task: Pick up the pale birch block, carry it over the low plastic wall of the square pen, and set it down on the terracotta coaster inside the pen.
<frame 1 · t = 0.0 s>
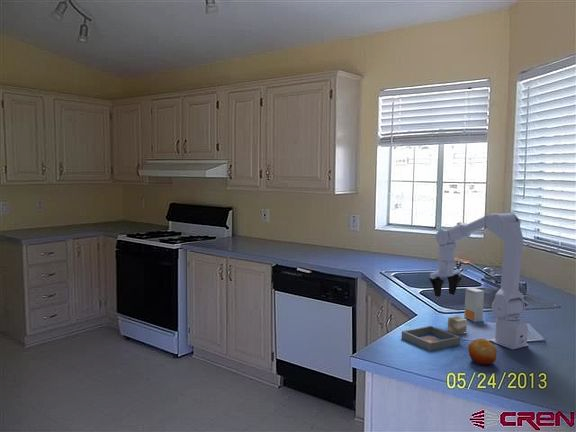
hand: (444, 295, 187), 10 cm above the countertop, tool pointing down, fingers open, 7 cm apart
birch block: (456, 332, 175), on the countertop
skincare box: (473, 319, 191), on the countertop
fruit: (481, 363, 146), on the countertop
low pen: (430, 341, 165), on the countertop
coaster: (430, 341, 165), resting in low pen
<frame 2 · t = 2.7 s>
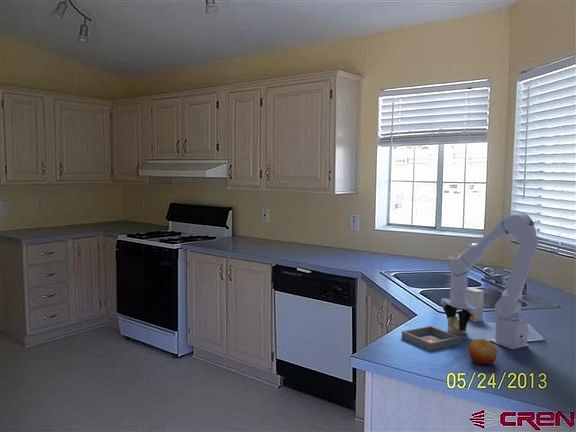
hand: (457, 328, 175), 1 cm above the countertop, tool pointing down, fingers closed on birch block, 4 cm apart
birch block: (456, 331, 175), on the countertop, touching gripper
everything else where it was.
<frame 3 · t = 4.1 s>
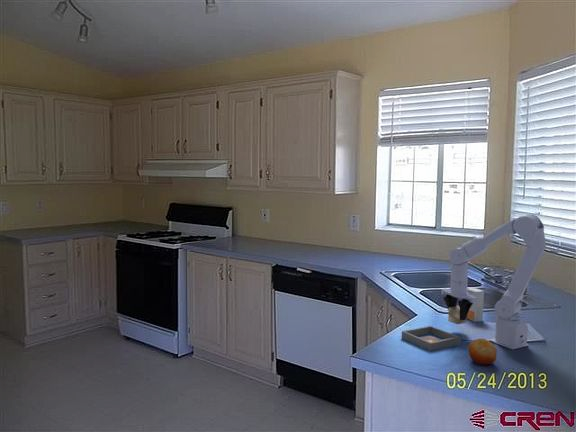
hand: (457, 317, 175), 5 cm above the countertop, tool pointing down, fingers closed on birch block, 4 cm apart
birch block: (457, 321, 175), point 4 cm above the countertop, touching gripper
everything else where it was.
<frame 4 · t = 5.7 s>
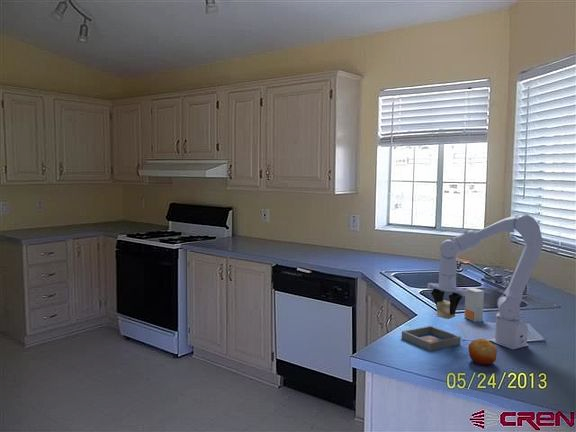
hand: (446, 312, 170), 8 cm above the countertop, tool pointing down, fingers closed on birch block, 4 cm apart
birch block: (445, 316, 170), point 7 cm above the countertop, touching gripper
everything else where it was.
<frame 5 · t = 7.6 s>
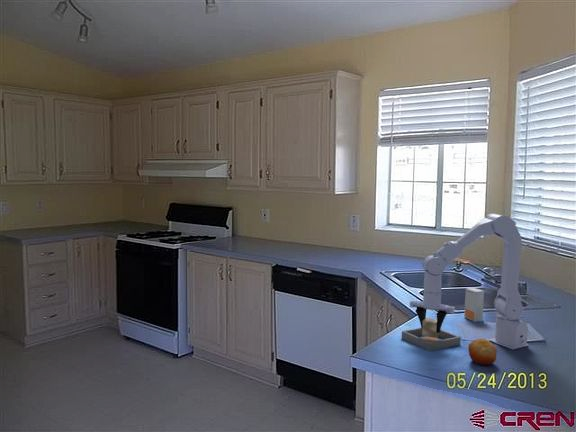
hand: (430, 330, 164), 4 cm above the countertop, tool pointing down, fingers closed on birch block, 4 cm apart
birch block: (430, 334, 165), point 2 cm above the countertop, touching gripper
everything else where it was.
when the fingers open (3 cm above the countertop, at t = 9.0 s): birch block stays where it is, resting on coaster.
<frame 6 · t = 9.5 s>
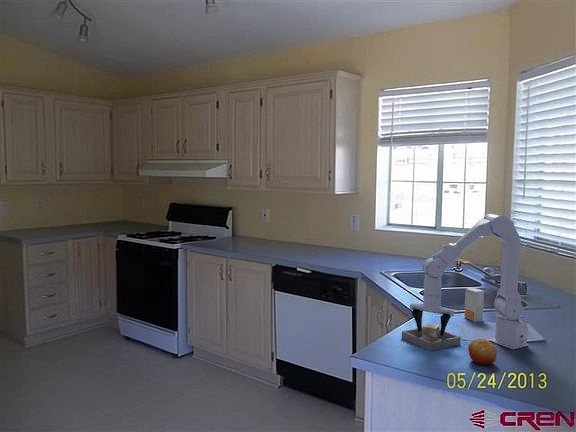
hand: (430, 333, 164), 3 cm above the countertop, tool pointing down, fingers open, 7 cm apart
birch block: (430, 340, 165), resting on coaster
everything else where it was.
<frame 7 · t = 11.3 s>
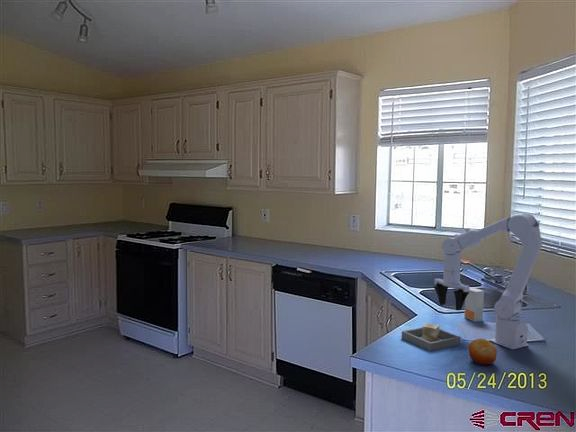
hand: (450, 307, 177), 8 cm above the countertop, tool pointing down, fingers open, 7 cm apart
nothing on the countertop moved.
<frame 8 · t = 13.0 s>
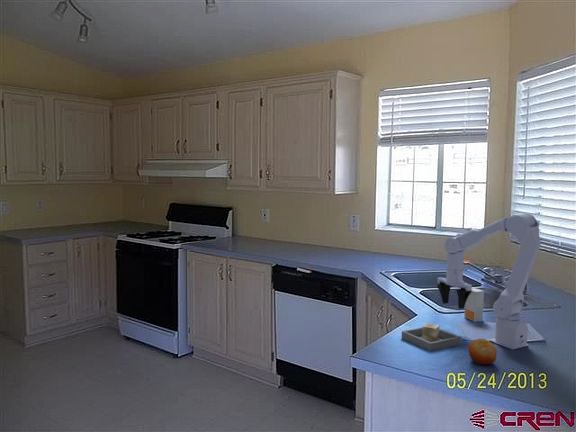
hand: (453, 305, 179), 8 cm above the countertop, tool pointing down, fingers open, 7 cm apart
nothing on the countertop moved.
at the end: birch block 0.0 cm off-centre on the coaster, point 0.4 cm above the coaster's base; birch block tilted 0°; the gripper is holding nothing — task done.
